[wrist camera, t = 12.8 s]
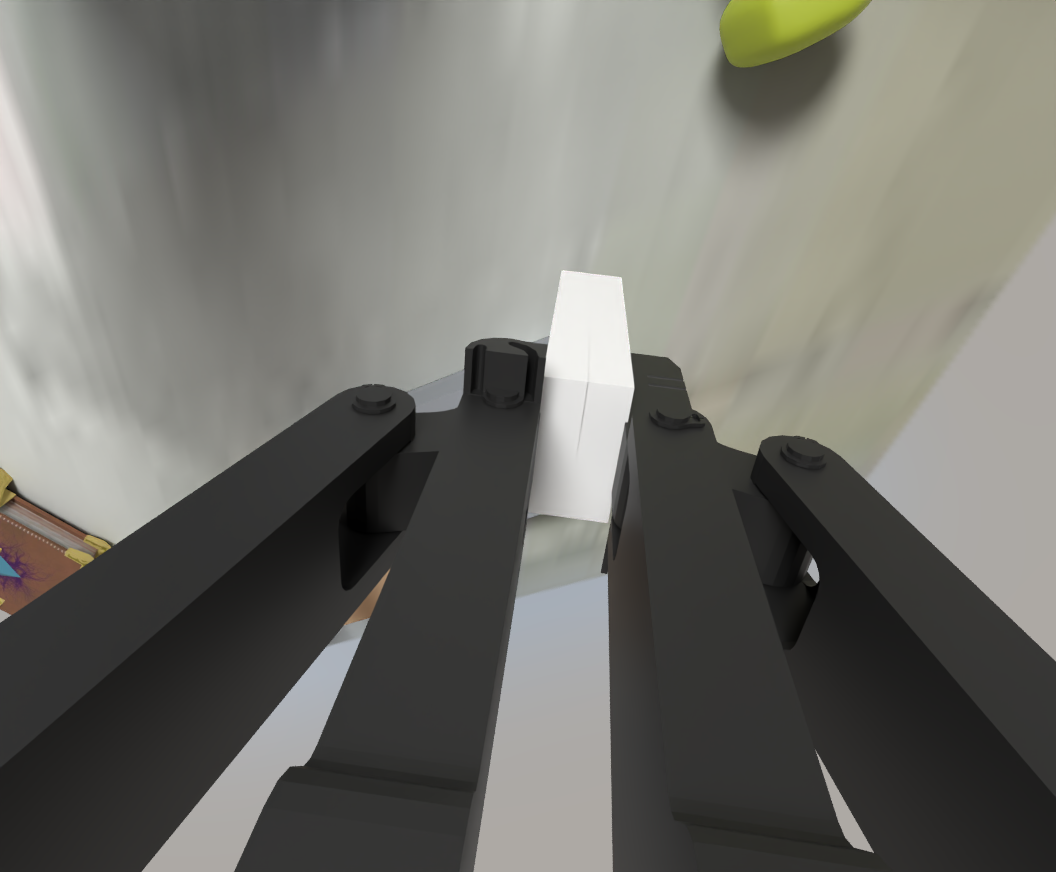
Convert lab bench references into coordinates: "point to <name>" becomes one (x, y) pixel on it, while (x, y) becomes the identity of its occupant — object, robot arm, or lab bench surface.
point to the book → (36, 550)
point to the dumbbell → (780, 27)
